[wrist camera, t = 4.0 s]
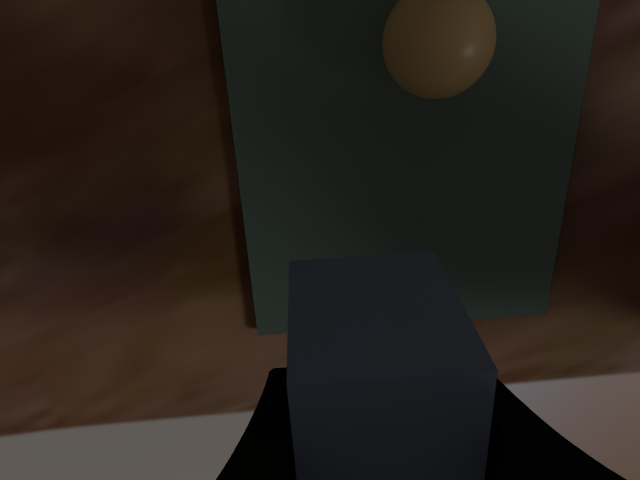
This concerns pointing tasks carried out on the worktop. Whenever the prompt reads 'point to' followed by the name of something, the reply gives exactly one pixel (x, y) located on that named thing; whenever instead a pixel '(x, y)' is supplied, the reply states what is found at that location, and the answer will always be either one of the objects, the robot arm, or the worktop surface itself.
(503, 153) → the pitch mat
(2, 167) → the worktop surface
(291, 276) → the block
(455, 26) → the ball
